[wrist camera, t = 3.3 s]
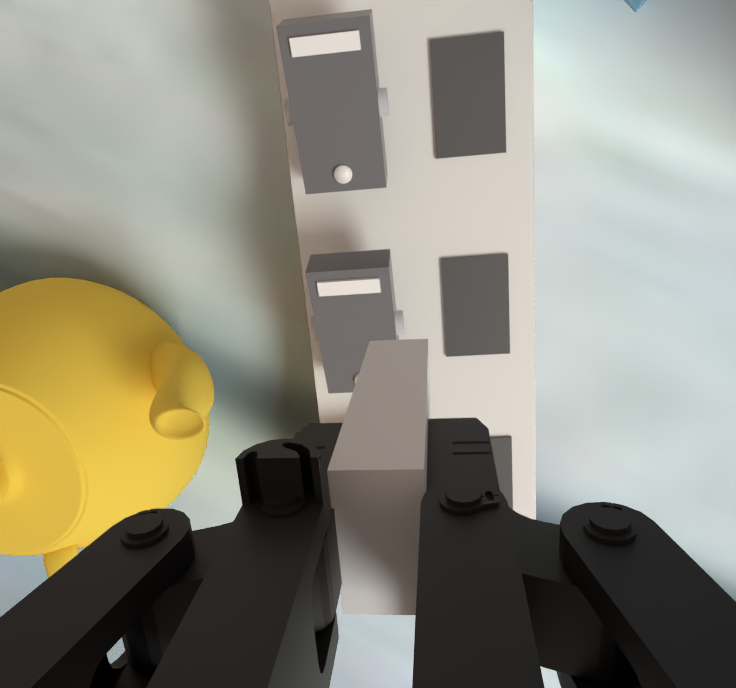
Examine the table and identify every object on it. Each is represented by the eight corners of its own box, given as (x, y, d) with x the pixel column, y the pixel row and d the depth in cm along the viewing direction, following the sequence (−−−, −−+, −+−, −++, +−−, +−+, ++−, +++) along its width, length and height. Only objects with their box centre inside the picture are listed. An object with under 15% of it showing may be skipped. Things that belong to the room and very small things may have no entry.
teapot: (36, 552, 37) (-125, 718, 27) (-96, 332, 34) (-347, 420, 23) (337, 463, 34) (293, 613, 23) (226, 204, 30) (110, 236, 19)
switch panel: (343, 521, 35) (331, 572, 30) (285, 12, 27) (258, -13, 23) (525, 517, 34) (539, 570, 29) (519, -16, 26) (536, -48, 22)
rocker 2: (325, 372, 28) (321, 395, 27) (303, 255, 24) (297, 275, 23) (408, 368, 28) (408, 391, 26) (397, 248, 24) (396, 268, 23)
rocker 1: (303, 181, 25) (297, 196, 24) (275, 20, 22) (266, 27, 21) (394, 173, 25) (393, 188, 24) (380, 8, 22) (378, 14, 20)
